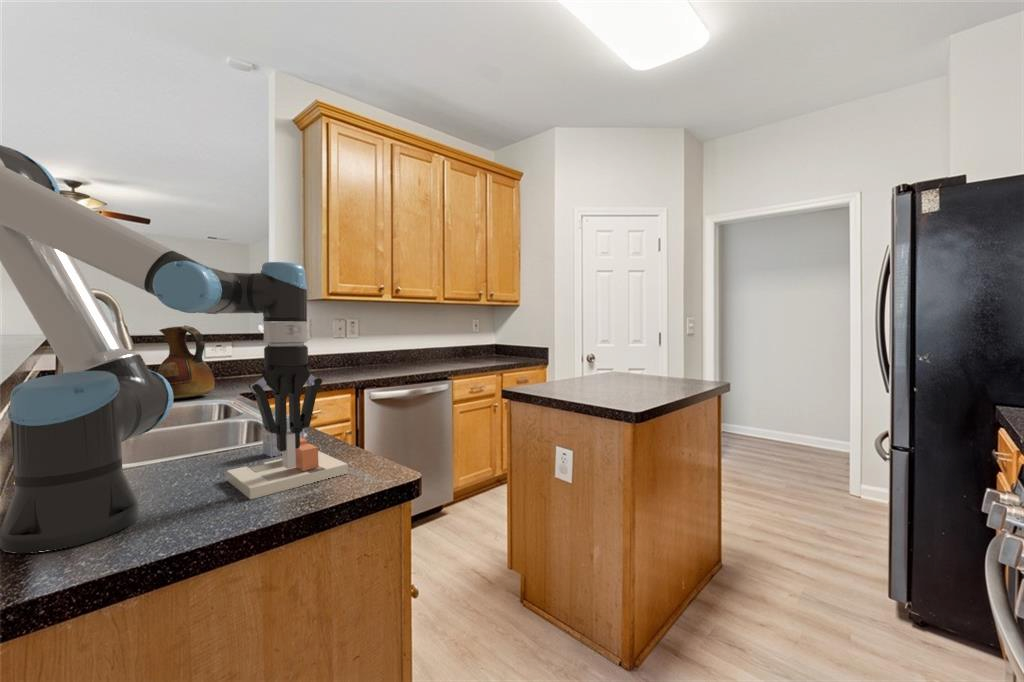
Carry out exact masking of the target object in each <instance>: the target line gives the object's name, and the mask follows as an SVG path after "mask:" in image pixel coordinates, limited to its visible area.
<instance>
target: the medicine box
mask: <svg viewBox="0 0 1024 682" xmlns="http://www.w3.org/2000/svg"><path fill="white" fill-rule="evenodd" d="M273 418H274V421H275V415H274V416H273ZM261 420H262V419H261ZM261 427H262V443H263V444H262V445H263V446H262V447H263V454H264V455H265V454H266V455H265V456H267V455H268V456H267V457H269V456H270V457H269V458H274V457H273V456H275V457H279V456H282V455H281V454H282V452H280V451H279V450H278V449H277V435H276V434H275V433H270V432H268V431H266V429H265V426H264V423H263V420H262V426H261ZM288 431H290V432H291V430H290V427H289V413H287V432H288ZM300 437H301V438H303V439H305V428H304V429H302V432H301V433H300ZM278 455H279V456H278Z"/></svg>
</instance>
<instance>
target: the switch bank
mask: <svg viewBox="0 0 1024 682" xmlns="http://www.w3.org/2000/svg"><path fill="white" fill-rule="evenodd" d="M318 463H319V467H318V468H314V469H309V470H305V471H302V470H300V469H299V468H297V467H293V468H289V469H287V468H286V467H284V466H282V458H279V459H275V460H269V461H266V462H259V463H254V464H249V465H246V466H242V467H238V468H233V469H227V470H226V476H227V477H226V479H227V482H228V483H230V485H232V486H233V487H235V488H236V489H237V490H238V491H240V492H241V493H242V494H243V495H244V496H246V497H247V498H248V499H250V500H254V499H257V498H261V497H265V496H269V495H273V494H276V493H281V492H284V491H288V490H292V489H294V488H295V489H296V488H298V487H304V486H306V484H307V485H311V484H315V483H318V482H317V481H319V482H322V481H326V480H329V479H328V478H330V479H333V478H332V477H334V478H337V477H340V475H341V476H345V475H348V474H349V465H348V463H346V462H344V461H341V460H340V459H337V458H335V457H332V456H331V455H328V454H326V453H324V452H322V451H319V450H318ZM344 474H345V475H344ZM336 476H337V477H336ZM325 479H326V480H325ZM321 480H322V481H321ZM314 482H315V483H314ZM303 485H304V486H303Z"/></svg>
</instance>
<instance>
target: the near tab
mask: <svg viewBox="0 0 1024 682" xmlns="http://www.w3.org/2000/svg"><path fill="white" fill-rule="evenodd" d="M318 451H319V447H318V446H316V445H314V444H311V443H308V444H305V445H300V447H299V448H296V449H295V453H296V467H297V468H299V469H300V470H302V471H305V470H309V469H314V468H318V467H319V463H318Z"/></svg>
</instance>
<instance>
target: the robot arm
mask: <svg viewBox="0 0 1024 682" xmlns="http://www.w3.org/2000/svg"><path fill="white" fill-rule="evenodd" d="M75 259H76V260H77V261H80V262H82V263H84V264H86V265H88V266H91V267H92V268H94V269H98V271H99V270H100V271H102V272H104V273H106V274H108V275H110V276H112V277H115V278H117V279H119V280H121V281H123V282H125V283H127V284H129V285H132V286H134V287H136V288H138V289H140V290H142V291H145V292H146V293H149V294H151V295H152V296H154V297H155V298H157V299H158V300H159V302H161V304H163V305H164V306H165V307H168V308H170V309H172V310H175V311H178V312H183V313H186V314H187V313H188V314H205V315H206V314H207V315H217V314H262V316H263V318H262V321H263V342H264V343H265V344H267V345H266V346H264V347H263V361H264V364H263V365H264V370H263V372H262V373H261V378H260V379H258V380H257V381H256V382H251V383H249V385H248V388H249V390H250V391H251V392H252V393H253V394H254V396H255V400H256V402H257V406H258V409H259V412H260V416H261V420H263V423H264V426H265V429H266V431H268V432H270V433H275V434H276V435H277V449H278V450H279V451H280V452H282V455H281V459H282V466H284V467H286V468H287V469H289V468H293V467H296V453H295V449H296V448H299V447H300V433H301V432H302V429H304V430H305V428H309V427H310V426H311V422H312V417H313V413H314V407H315V403H316V398H317V393H318V390H319V388H320V387H321V385H322V384H323V379H322V378H320V377H316V376H314V375H313V374H311V370H310V368H309V349H308V348H309V347H308V346H307V345H306V343H307V342H309V341H308V340H309V339H308V287H307V278H306V276H307V275H306V270H305V268H304V266H303V265H301V264H298V263H293V262H287V261H286V262H285V261H268V262H264V263H262V265H261V270H260V272H255V273H254V272H252V273H251V272H249V273H248V272H246V273H244V272H228V271H225V270H219V269H218V268H214V267H210V266H208V265H204V264H202V263H200V262H199V261H195V260H194V259H192V258H190V257H188V256H186V255H184V254H182V253H179V252H178V251H175V250H173V249H171V248H170V247H167V246H165V245H163V244H162V243H160V242H157V241H155V240H153V239H151V238H150V237H148V236H147V237H146V236H145V235H143V234H141V233H140V232H136V231H135V230H133V229H131V228H129V227H127V226H125V225H123V224H120V223H119V222H117V221H115V220H112V219H111V218H109V217H106V216H105V215H103V214H100V213H99V212H97V211H95V210H93V209H91V208H88V207H86V206H84V205H83V204H81V203H79V202H76V201H74V200H72V199H71V198H68V197H66V196H65V195H63V194H61V193H60V188H59V186H58V183H57V181H56V180H55V178H54V176H53V175H52V174H51V172H50V171H48V169H47V168H46V167H44V165H42V164H41V163H39V162H37V161H36V160H34V159H32V158H30V157H29V156H28V155H26V154H24V153H23V152H21V151H19V150H16V149H14V148H11V147H7V146H4V145H2V144H0V263H1V265H2V266H3V268H4V270H5V271H6V273H7V275H8V277H9V278H10V280H11V281H12V283H13V285H14V286H15V289H16V290H17V292H18V293H19V295H20V297H21V298H22V300H23V302H24V303H25V306H26V307H27V309H28V310H29V312H30V313H31V315H32V317H33V318H34V320H35V322H36V324H37V325H38V327H39V329H40V330H41V332H42V334H43V335H44V337H45V339H46V341H47V343H48V345H50V347H51V349H52V350H53V352H54V354H55V356H56V357H57V359H58V361H59V362H60V364H61V366H62V367H63V372H61V373H58V374H53V375H52V374H49V375H44V376H40V377H36V378H32V379H28V380H27V381H26V380H25V381H24V382H21V383H19V384H18V385H16V386H15V387H14V388H13V389H12V391H11V392H10V396H9V407H8V408H9V409H8V411H7V417H8V419H9V420H10V435H11V437H10V438H11V449H12V463H13V465H12V466H13V476H14V491H13V492H14V493H13V494H12V498H11V500H10V503H9V506H8V508H7V511H6V514H5V516H4V519H3V520H2V524H1V526H0V548H1V549H2V550H6V551H11V552H16V553H31V552H39V551H46V550H55V549H60V548H65V547H69V548H73V547H77V546H80V545H81V546H82V545H84V544H86V543H88V544H89V543H90V542H94V541H97V540H99V539H102V538H105V537H109V536H110V535H113V534H115V533H117V532H120V531H122V530H124V529H126V528H127V527H129V526H130V525H133V523H135V522H136V521H137V520H138V518H139V517H140V506H139V505H140V502H139V500H138V498H137V496H136V494H135V491H134V490H133V488H132V486H131V484H130V482H129V480H128V479H127V477H126V475H125V472H124V470H123V458H122V457H123V453H122V452H123V451H122V443H123V442H126V441H127V440H130V439H132V438H135V437H138V436H141V435H143V434H145V433H148V432H150V431H151V430H153V429H154V428H156V426H158V425H160V424H161V423H162V422H163V421H165V420H166V418H167V417H168V415H169V413H170V412H171V410H172V408H173V405H174V399H173V391H172V388H171V386H170V384H169V382H168V381H167V380H166V379H165V378H164V377H163V376H162V375H160V374H158V373H157V372H156V371H154V370H151V369H149V368H148V365H147V364H146V363H145V361H144V359H143V357H142V355H141V354H140V353H138V352H135V351H132V350H129V349H126V347H124V345H123V343H122V341H121V339H120V338H119V335H118V334H117V332H116V330H115V329H114V326H113V325H112V324H111V322H110V320H109V318H108V316H107V315H106V313H105V312H104V309H103V308H102V306H101V304H100V302H99V301H98V299H97V297H96V296H95V293H94V292H93V290H92V288H91V287H90V285H89V283H88V282H87V279H86V278H85V276H84V274H83V272H82V271H81V269H80V268H79V266H78V264H77V262H76V261H75ZM305 384H306V389H305V393H304V398H303V402H302V407H301V396H302V388H303V387H304V386H305ZM266 385H267V386H268V387H269V388H270V389H271V390H272V392H273V398H274V416H275V421H274V418H273V417H274V416H273V412H272V411H273V410H272V408H271V405H270V401H269V397H268V395H267V393H266V392H265V391H266V390H267V386H266ZM287 398H288V413H287ZM287 414H289V427H290V430H291V432H290V431H288V432H287ZM1 549H0V550H1ZM65 549H66V548H65ZM60 550H61V549H60ZM55 551H56V550H55Z"/></svg>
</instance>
